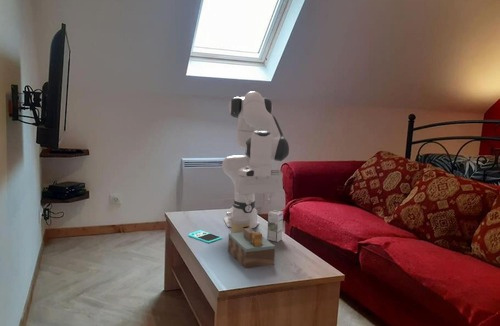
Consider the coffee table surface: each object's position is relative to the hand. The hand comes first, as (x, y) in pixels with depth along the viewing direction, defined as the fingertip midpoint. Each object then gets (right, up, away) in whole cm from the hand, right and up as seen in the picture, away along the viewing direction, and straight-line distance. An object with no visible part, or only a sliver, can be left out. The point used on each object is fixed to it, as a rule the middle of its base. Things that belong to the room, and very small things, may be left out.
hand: (258, 203), depth 169 cm
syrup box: (+9, -22, +36) cm, 43 cm away
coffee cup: (-9, -22, +31) cm, 39 cm away
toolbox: (-4, -25, +10) cm, 27 cm away
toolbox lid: (-3, -18, +8) cm, 20 cm away
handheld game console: (-26, -21, +36) cm, 50 cm away
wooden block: (-1, -25, +4) cm, 26 cm away
